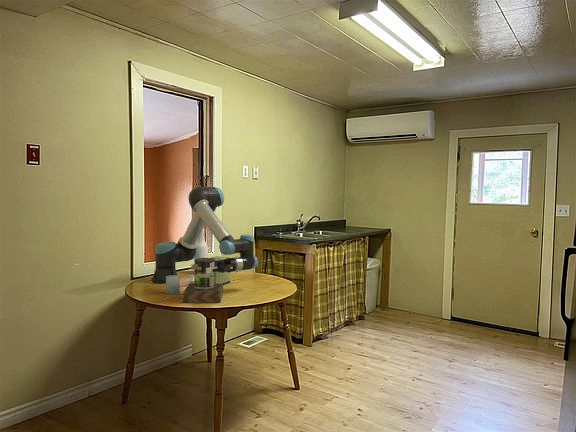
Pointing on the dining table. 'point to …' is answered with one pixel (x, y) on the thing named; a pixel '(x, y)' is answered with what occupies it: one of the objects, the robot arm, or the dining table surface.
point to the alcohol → (202, 246)
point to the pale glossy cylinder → (172, 284)
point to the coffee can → (203, 273)
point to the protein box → (219, 276)
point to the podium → (203, 294)
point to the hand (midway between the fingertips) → (198, 269)
